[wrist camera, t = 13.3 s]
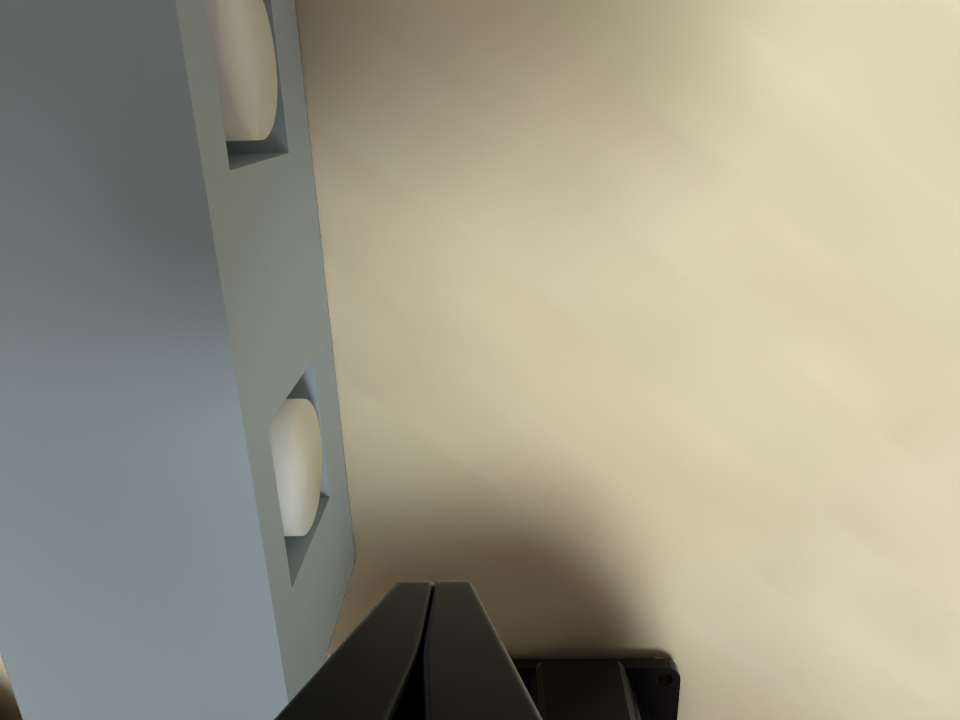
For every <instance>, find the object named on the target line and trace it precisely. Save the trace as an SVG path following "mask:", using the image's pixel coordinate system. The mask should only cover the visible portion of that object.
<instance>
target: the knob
mask: <svg viewBox="0 0 960 720" xmlns="http://www.w3.org/2000/svg"><path fill="white" fill-rule="evenodd" d="M205 5H206V11H207V18H208V25H209V32H210V38H211V45H212V52H213V59H214V66H215V72H216V79H217V86H218V93H219V99H220V106H221V113H222V120H223V126H224V133H225V140H226V141H247V140H264V139H266V138H267V137H268V135H269V134H270V132H271V130H272V127H273V124H274V121H275V115H276V108H277V68H276V58H275V51H274V44H273V38H272V33H271V28H270V23H269V19H268V15H267V12H266V8H265V5H264V2H263V0H205Z"/></svg>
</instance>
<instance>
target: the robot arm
mask: <svg viewBox="0 0 960 720" xmlns="http://www.w3.org/2000/svg"><path fill="white" fill-rule="evenodd" d="M661 674H668V675H666V676H663V677H661V676H660V675H661ZM679 690H680V675H679V672H678V668H677V666H676V664H675V663H674V662H673V661H671V660H669V659H663V658H643V659H511V658H510V656H509V654H508V652H507V650H506V648H505V646H504V644H503V642H502V640H501V639H500V637H499V635H498V633H497V631H496V629H495V627H494V625H493V623H492V621H491V619H490V617H489V615H488V613H487V611H486V610H485V608H484V606H483V604H482V602H481V600H480V598H479V596H478V594H477V592H476V590H475V588H474V586H473V585H472V583H471V582H470V581H468V580H440V581H438V582H437V583H436V584H435V586H434V584H433V582H432V581H430V580H403V581H400V582H398V583H397V584H396V585H395V586H394V587H393V588H392V589H391V590H390V591H389V592H388V593H387V595H386V596H385V597H384V598H383V599H382V600H381V601H380V602H379V603H378V605H377V606H376V607H375V608H374V609H373V610H372V611H371V612H370V613H369V614H368V616H367V617H366V618H365V619H364V620H363V621H362V622H361V623H360V624H359V626H358V627H357V628H356V629H355V630H354V631H353V632H352V633H351V634H350V636H349V637H348V638H347V639H346V640H345V641H344V642H343V643H342V644H341V646H340V647H339V648H338V649H337V650H336V651H335V652H334V653H333V654H332V656H331V657H330V658H329V659H328V660H327V661H326V662H325V663H324V664H323V666H322V667H321V668H320V669H319V670H318V671H317V672H316V673H315V674H314V676H313V677H312V678H311V679H310V680H309V681H308V682H307V683H306V684H305V686H304V687H303V688H302V689H301V690H300V691H299V692H298V693H297V694H296V695H295V697H294V698H293V699H292V700H291V701H290V702H289V703H288V704H287V705H286V707H285V708H284V709H283V710H282V711H281V712H280V713H279V714H278V715H277V717H276V718H275V719H274V720H677V713H678V702H679Z"/></svg>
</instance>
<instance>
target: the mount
mask: <svg viewBox="0 0 960 720" xmlns="http://www.w3.org/2000/svg"><path fill="white" fill-rule="evenodd" d="M263 2H264V5H265V8H266V12H267V15H268V19H269V23H270V28H271V33H272V38H273V44H274V51H275V58H276V68H277V108H276V115H275V121H274V124H273V127H272V130H271V132H270V134H269V135H268V137H267V138H266V139H264V140H247V141H226V140H225V133H224V126H223V120H222V113H221V106H220V99H219V93H218V86H217V79H216V72H215V66H214V59H213V52H212V45H211V38H210V32H209V25H208V18H207V11H206V5H205V0H0V653H1V656H2V659H3V662H4V665H5V668H6V671H7V674H8V677H9V680H10V683H11V686H12V689H13V692H14V695H15V698H16V701H17V704H18V707H19V710H20V713H21V716H22V719H23V720H274V719H275V718H276V717H277V715H278V714H279V713H280V712H281V711H282V710H283V709H284V708H285V707H286V705H287V704H288V703H289V702H290V701H291V700H292V699H293V698H294V697H295V695H296V694H297V693H298V692H299V691H300V690H301V689H302V688H303V687H304V686H305V684H306V683H307V682H308V681H309V680H310V679H311V678H312V677H313V676H314V674H315V673H316V672H317V671H318V670H319V669H320V668H321V667H322V666H323V664H324V661H325V658H326V655H327V651H328V648H329V645H330V642H331V638H332V635H333V632H334V629H335V625H336V622H337V619H338V616H339V612H340V609H341V606H342V603H343V599H344V596H345V593H346V590H347V586H348V583H349V580H350V577H351V573H352V570H353V567H354V564H355V551H354V542H353V533H352V523H351V514H350V505H349V496H348V486H347V477H346V468H345V459H344V449H343V440H342V431H341V422H340V413H339V403H338V394H337V385H336V376H335V366H334V357H333V348H332V339H331V329H330V320H329V311H328V302H327V292H326V283H325V274H324V265H323V256H322V246H321V237H320V228H319V219H318V209H317V200H316V191H315V182H314V172H313V163H312V154H311V145H310V136H309V126H308V117H307V108H306V99H305V89H304V80H303V71H302V62H301V52H300V43H299V34H298V25H297V15H296V6H295V0H263ZM285 399H307V400H309V401H310V402H311V403H312V405H313V407H314V409H315V412H316V415H317V418H318V422H319V427H320V434H321V443H322V481H321V491H320V498H319V504H318V508H317V512H316V516H315V519H314V522H313V524H312V526H311V528H310V530H309V532H308V533H307V534H306V535H304V536H284V532H283V526H282V519H281V512H280V505H279V499H278V492H277V485H276V478H275V472H274V465H273V458H272V451H271V444H270V438H269V431H268V424H269V422H270V421H271V420H272V418H273V417H274V415H275V414H276V412H277V411H278V409H279V408H280V407H281V405H282V404H283V402H284V401H285Z"/></svg>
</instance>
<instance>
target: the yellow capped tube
mask: <svg viewBox="0 0 960 720" xmlns="http://www.w3.org/2000/svg"><path fill="white" fill-rule="evenodd" d="M268 431H269V438H270V444H271V451H272V458H273V465H274V472H275V478H276V485H277V492H278V499H279V505H280V512H281V519H282V526H283V532H284V536H304V535H306V534H307V533H308V532H309V530H310V528H311V526H312V524H313V522H314V519H315V516H316V512H317V508H318V504H319V498H320V491H321V481H322V443H321V434H320V427H319V422H318V418H317V415H316V412H315V409H314V407H313V405H312V403H311V402H310V401H309V400H307V399H285V401H284V402H283V404H282V405H281V407H280V408H279V409H278V411H277V412H276V414H275V415H274V417H273V418H272V420H271V421H270V422H269V424H268Z"/></svg>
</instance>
